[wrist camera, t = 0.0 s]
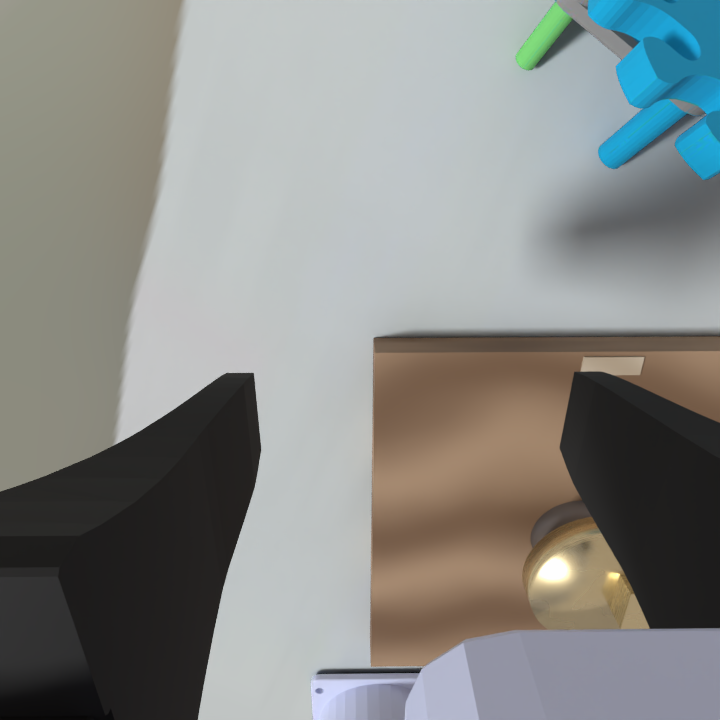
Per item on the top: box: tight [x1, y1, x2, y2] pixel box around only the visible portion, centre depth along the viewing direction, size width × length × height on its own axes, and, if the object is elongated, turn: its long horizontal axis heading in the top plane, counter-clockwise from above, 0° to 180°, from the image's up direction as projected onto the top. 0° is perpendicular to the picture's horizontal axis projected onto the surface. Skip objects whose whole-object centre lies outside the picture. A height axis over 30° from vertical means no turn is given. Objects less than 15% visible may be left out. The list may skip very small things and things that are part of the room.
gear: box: [516, 0, 720, 180], centre depth 16 cm, size 11×6×10 cm
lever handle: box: [522, 517, 650, 630], centre depth 22 cm, size 11×6×2 cm, turn 90°
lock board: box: [370, 336, 720, 667], centre depth 25 cm, size 19×19×4 cm
